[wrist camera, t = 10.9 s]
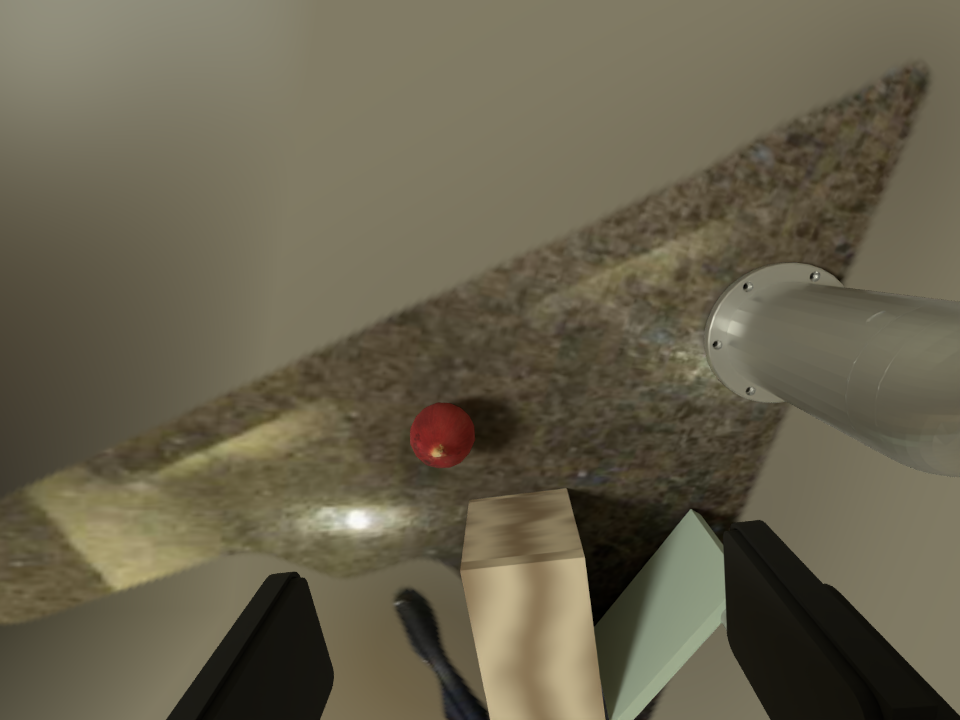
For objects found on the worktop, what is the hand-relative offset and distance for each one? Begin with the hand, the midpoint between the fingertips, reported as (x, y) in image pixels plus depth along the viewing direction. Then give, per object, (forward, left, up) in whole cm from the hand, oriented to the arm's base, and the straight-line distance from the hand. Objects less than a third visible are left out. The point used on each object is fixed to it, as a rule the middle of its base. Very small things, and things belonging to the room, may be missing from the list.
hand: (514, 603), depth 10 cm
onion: (+7, +8, -34) cm, 35 cm away
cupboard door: (-11, +29, -33) cm, 45 cm away
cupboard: (+1, +26, -33) cm, 42 cm away
